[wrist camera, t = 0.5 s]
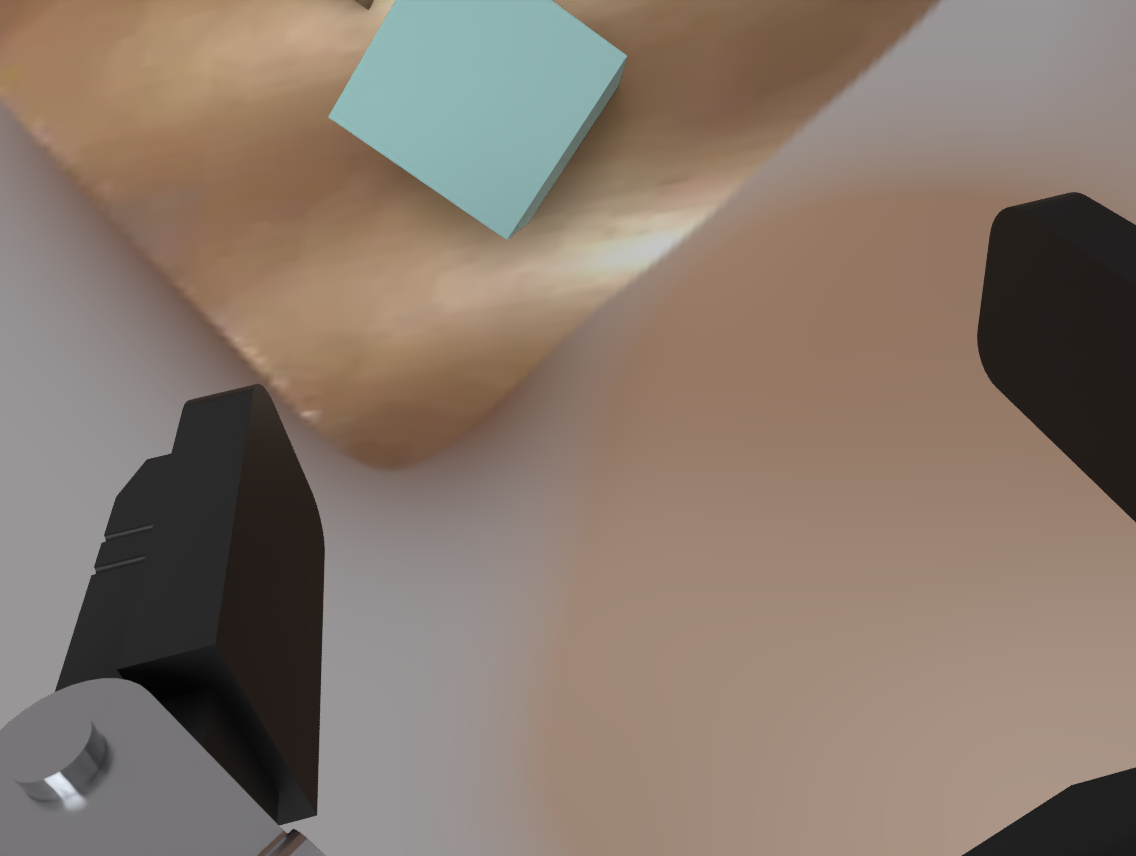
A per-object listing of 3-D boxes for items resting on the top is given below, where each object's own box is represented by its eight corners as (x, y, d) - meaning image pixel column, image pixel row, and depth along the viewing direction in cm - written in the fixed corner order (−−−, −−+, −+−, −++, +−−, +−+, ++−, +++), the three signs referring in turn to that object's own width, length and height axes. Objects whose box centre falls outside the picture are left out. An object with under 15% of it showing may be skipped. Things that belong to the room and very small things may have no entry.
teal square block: (482, -16, 33) (442, -81, 25) (619, 84, 34) (627, 55, 25) (395, 129, 35) (328, 117, 26) (528, 222, 36) (507, 240, 27)
